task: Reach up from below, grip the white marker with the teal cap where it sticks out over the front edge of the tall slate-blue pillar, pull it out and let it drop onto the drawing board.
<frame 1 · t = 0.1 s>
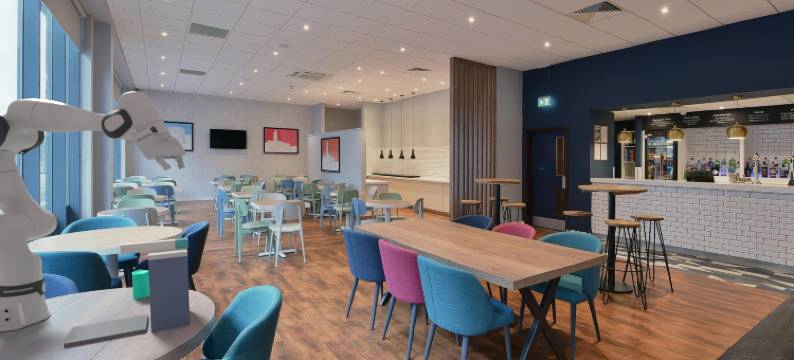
hand: (175, 168, 141), 54 cm above the table, tool tilted 30°, fingers open, 8 cm apart
tall slate-blue pillar: (170, 320, 144), on the table
candle: (141, 296, 168), on the table
marker: (155, 249, 140), point 26 cm above the table, touching tall slate-blue pillar
drawing board: (109, 331, 135), on the table
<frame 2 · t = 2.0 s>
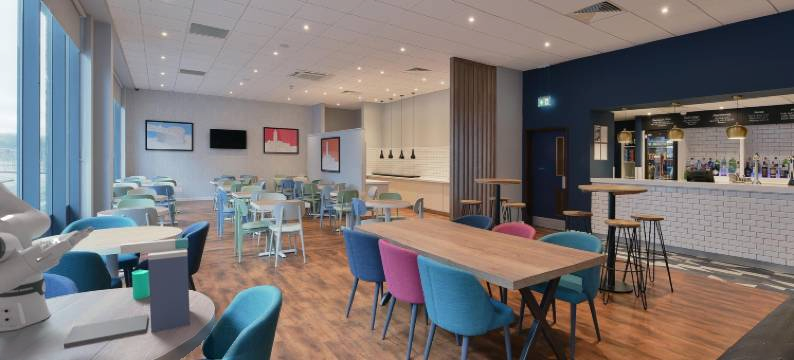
hand: (90, 230, 132), 34 cm above the table, tool pointing upward, fingers open, 8 cm apart
nothing on the table moved.
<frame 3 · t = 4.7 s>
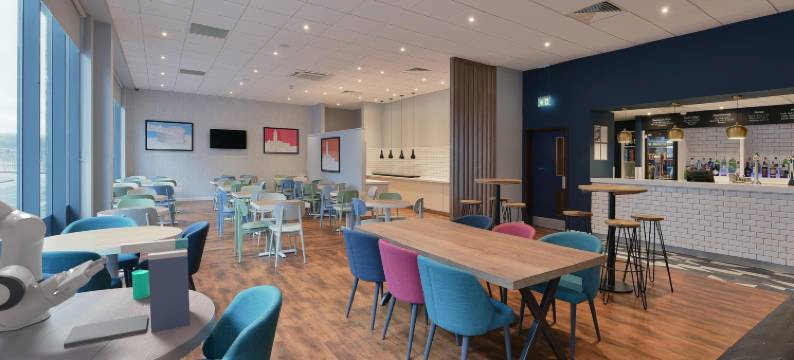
hand: (105, 261, 133), 24 cm above the table, tool pointing upward, fingers open, 8 cm apart
nothing on the table moved.
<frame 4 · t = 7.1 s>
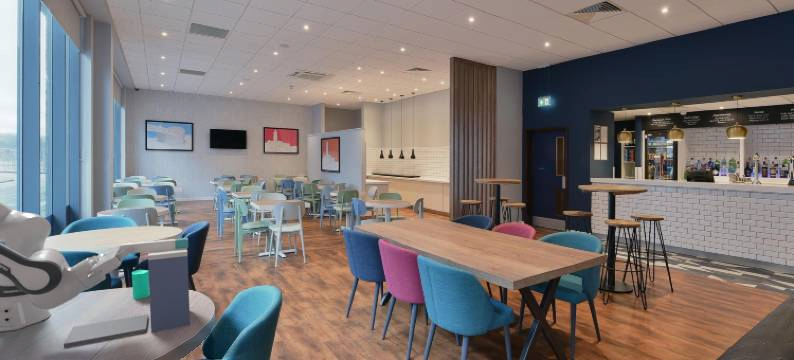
hand: (134, 246, 137), 28 cm above the table, tool pointing upward, fingers closed on marker, 3 cm apart
marker: (155, 249, 140), point 26 cm above the table, touching gripper, tall slate-blue pillar
everything else where it was.
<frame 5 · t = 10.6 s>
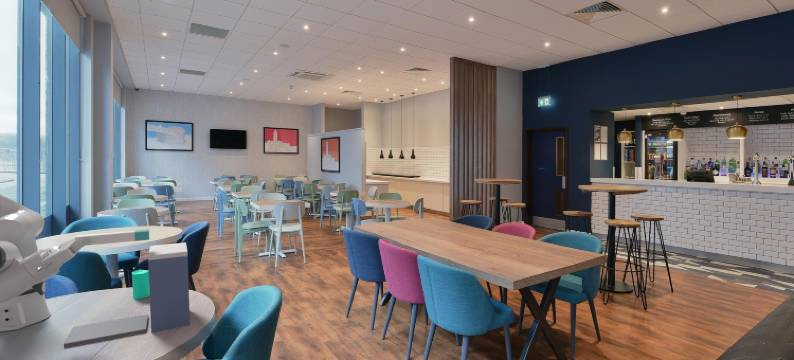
hand: (90, 238, 131), 32 cm above the table, tool pointing upward, fingers closed on marker, 3 cm apart
marker: (114, 242, 134), point 30 cm above the table, touching gripper
everything else where it was.
when the fingers open (18 cm above the table, at t = 14.1 s): marker drops 15 cm, resting on drawing board.
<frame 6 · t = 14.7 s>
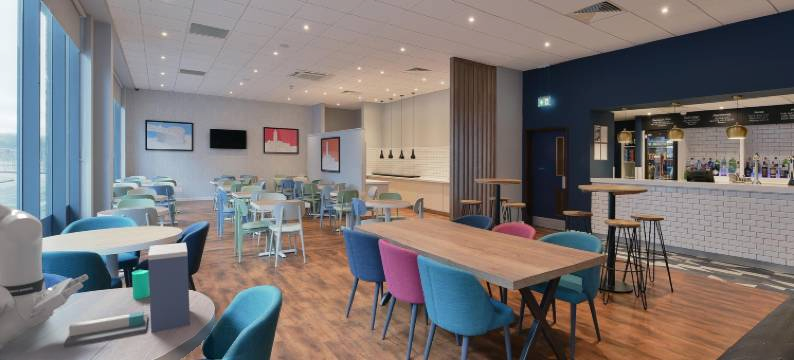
hand: (84, 280, 131), 18 cm above the table, tool pointing upward, fingers open, 8 cm apart
marker: (108, 327, 135), point 1 cm above the table, touching drawing board
everything else where it was.
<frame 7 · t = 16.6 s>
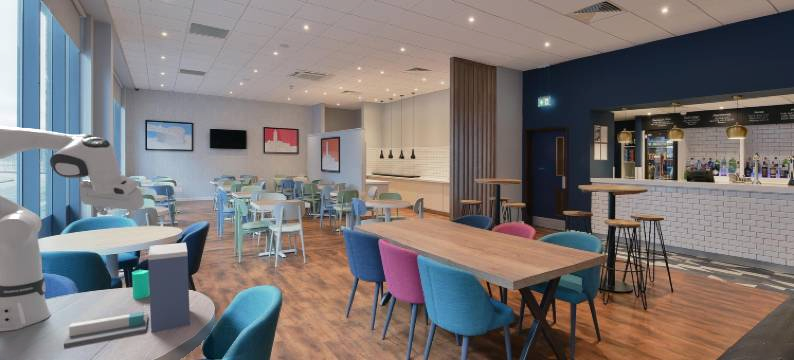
hand: (117, 215, 145), 37 cm above the table, tool tilted 25°, fingers open, 8 cm apart
nothing on the table moved.
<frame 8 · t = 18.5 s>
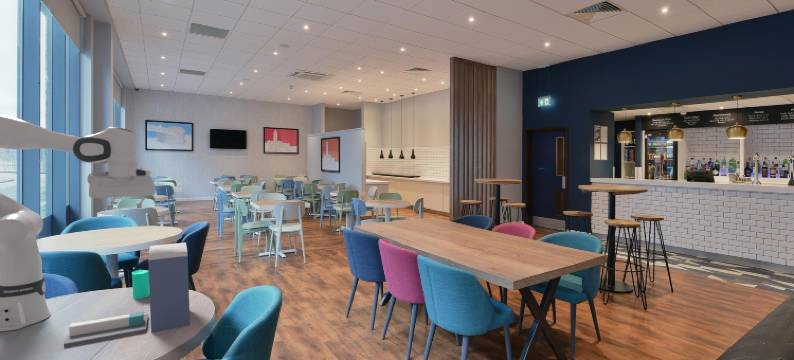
hand: (124, 209, 148), 39 cm above the table, tool pointing down, fingers open, 8 cm apart
nothing on the table moved.
at the end: marker inside the target area on the drawing board (0.3 cm from its centre), point 1.2 cm above the drawing board's base; marker touching drawing board; marker moved 28.7 cm from its start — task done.
